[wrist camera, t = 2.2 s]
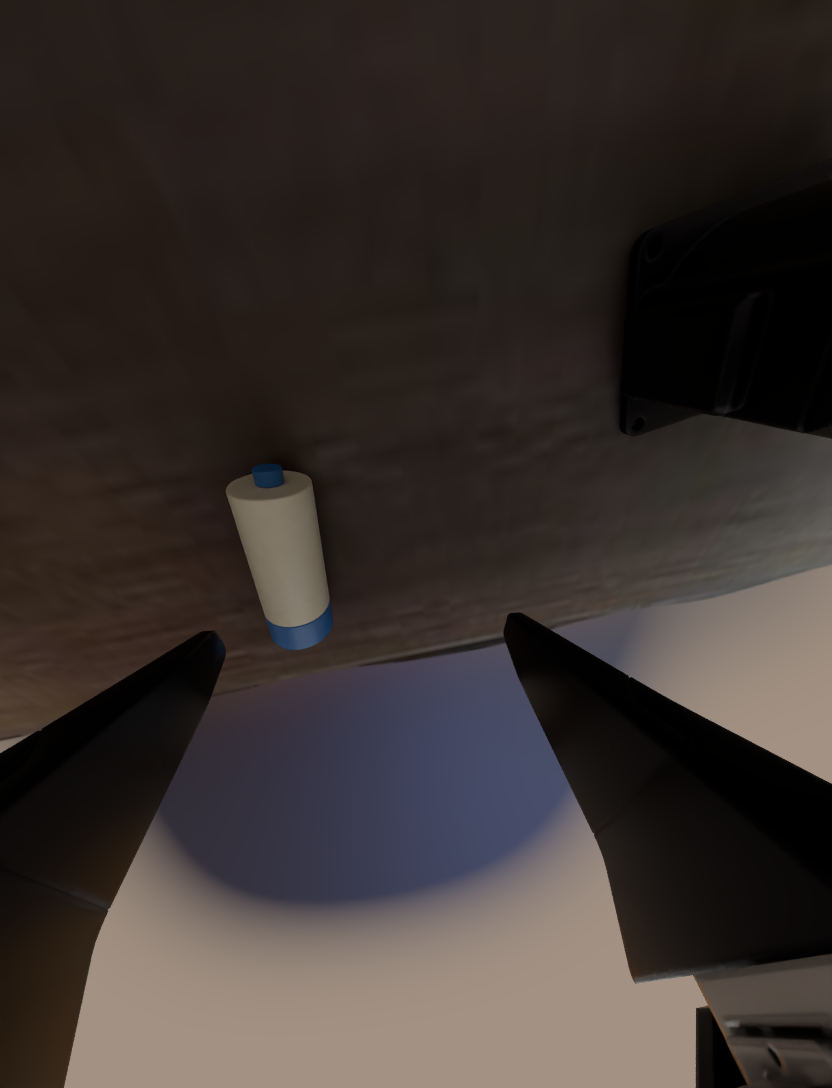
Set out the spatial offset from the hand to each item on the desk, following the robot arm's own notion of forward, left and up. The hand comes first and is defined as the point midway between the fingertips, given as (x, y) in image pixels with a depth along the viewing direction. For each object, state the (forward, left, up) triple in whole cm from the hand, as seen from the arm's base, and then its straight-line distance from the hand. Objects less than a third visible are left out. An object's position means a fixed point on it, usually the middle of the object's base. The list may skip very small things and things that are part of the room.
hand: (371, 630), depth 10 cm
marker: (+2, -1, -3) cm, 4 cm away
